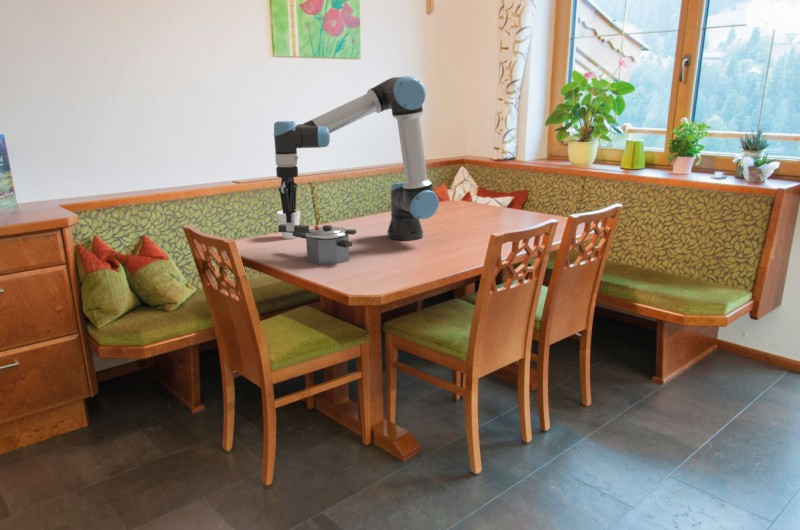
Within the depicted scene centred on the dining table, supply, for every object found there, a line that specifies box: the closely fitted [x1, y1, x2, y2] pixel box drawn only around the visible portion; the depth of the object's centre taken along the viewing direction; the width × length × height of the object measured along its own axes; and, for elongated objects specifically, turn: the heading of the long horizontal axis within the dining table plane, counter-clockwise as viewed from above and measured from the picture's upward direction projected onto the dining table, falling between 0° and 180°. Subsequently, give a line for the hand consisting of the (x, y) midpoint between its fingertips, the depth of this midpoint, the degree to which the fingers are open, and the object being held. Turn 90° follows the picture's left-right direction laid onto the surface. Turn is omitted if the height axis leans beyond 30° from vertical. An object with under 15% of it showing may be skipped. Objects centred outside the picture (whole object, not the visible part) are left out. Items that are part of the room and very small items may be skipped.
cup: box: [276, 209, 302, 240], centre depth 255 cm, size 10×10×11 cm
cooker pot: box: [292, 233, 353, 266], centre depth 223 cm, size 29×15×9 cm, turn 50°
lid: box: [277, 224, 357, 239], centre depth 220 cm, size 29×16×3 cm, turn 74°
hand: (290, 230), depth 221 cm, fingers closed
